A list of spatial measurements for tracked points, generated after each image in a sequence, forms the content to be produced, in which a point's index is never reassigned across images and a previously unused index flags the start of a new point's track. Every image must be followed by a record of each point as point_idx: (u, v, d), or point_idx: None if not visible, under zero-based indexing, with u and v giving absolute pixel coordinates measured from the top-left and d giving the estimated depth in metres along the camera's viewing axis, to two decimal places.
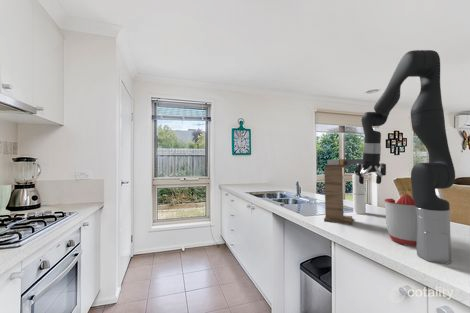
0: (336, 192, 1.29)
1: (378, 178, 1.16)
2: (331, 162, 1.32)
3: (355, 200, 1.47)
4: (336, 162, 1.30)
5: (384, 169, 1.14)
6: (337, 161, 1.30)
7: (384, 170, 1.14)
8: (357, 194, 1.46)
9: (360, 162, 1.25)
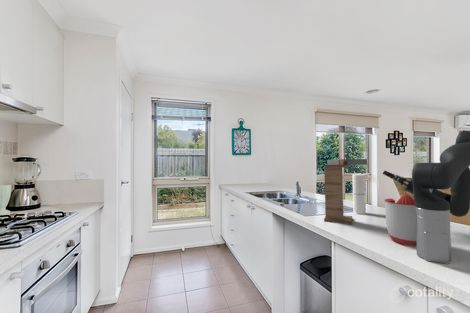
0: (336, 192, 1.29)
1: None
2: (331, 162, 1.32)
3: (355, 200, 1.47)
4: (336, 162, 1.30)
5: (403, 178, 1.12)
6: (337, 161, 1.30)
7: (402, 178, 1.13)
8: (357, 194, 1.46)
9: (360, 162, 1.25)
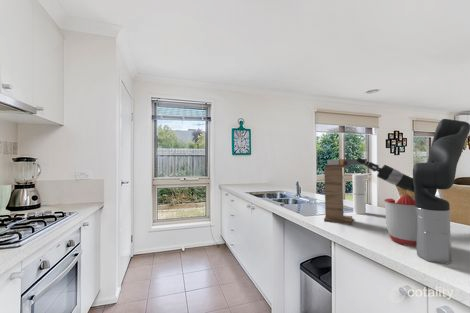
0: (336, 192, 1.29)
1: None
2: (331, 162, 1.32)
3: (355, 200, 1.47)
4: (336, 162, 1.30)
5: (372, 163, 1.20)
6: (337, 161, 1.30)
7: (371, 163, 1.20)
8: (357, 194, 1.46)
9: None
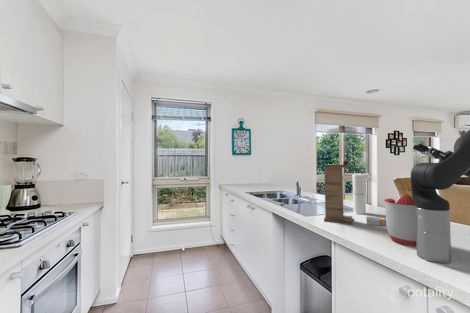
0: (336, 192, 1.29)
1: None
2: (371, 221, 1.21)
3: (355, 200, 1.47)
4: (377, 223, 1.20)
5: None
6: (378, 221, 1.20)
7: None
8: (357, 194, 1.46)
9: None
